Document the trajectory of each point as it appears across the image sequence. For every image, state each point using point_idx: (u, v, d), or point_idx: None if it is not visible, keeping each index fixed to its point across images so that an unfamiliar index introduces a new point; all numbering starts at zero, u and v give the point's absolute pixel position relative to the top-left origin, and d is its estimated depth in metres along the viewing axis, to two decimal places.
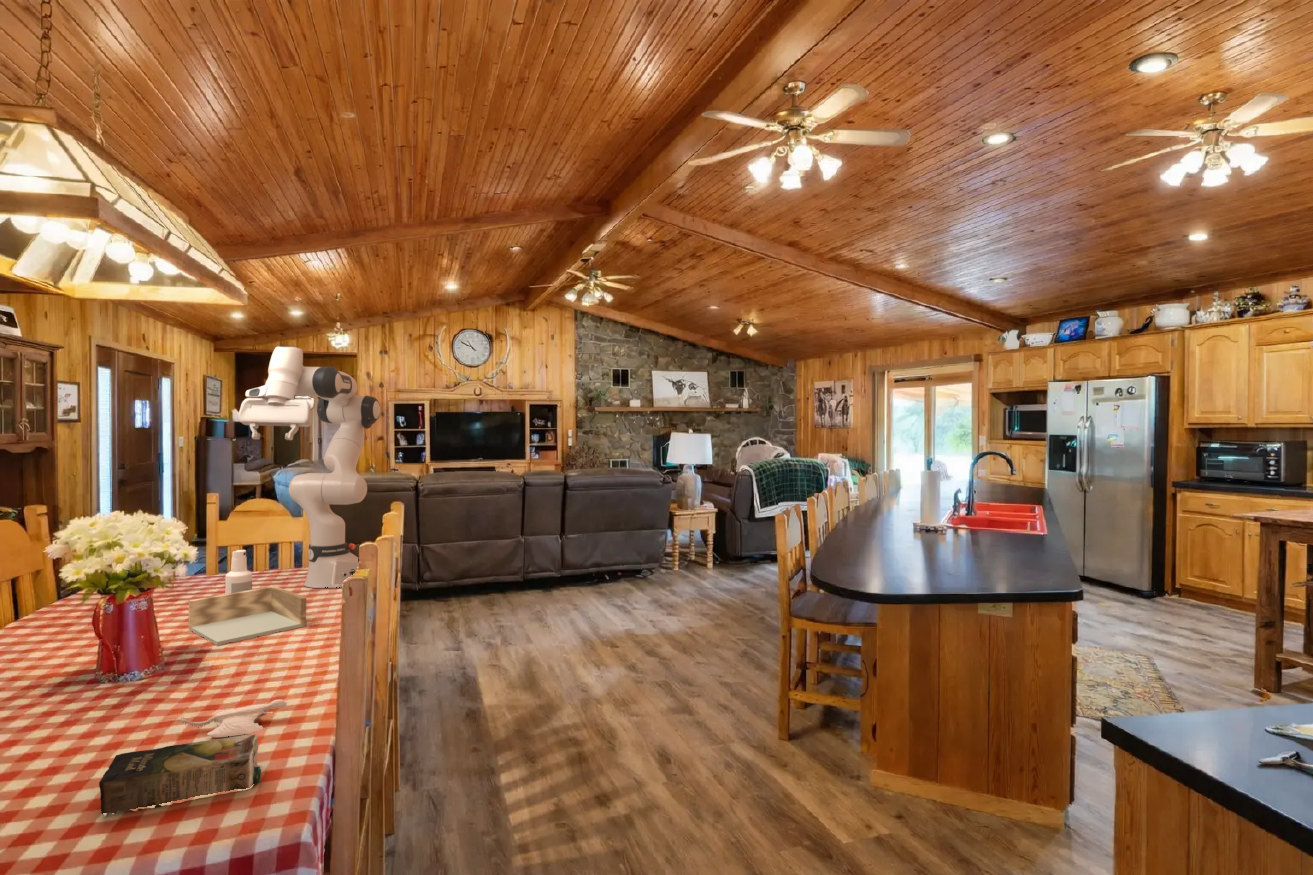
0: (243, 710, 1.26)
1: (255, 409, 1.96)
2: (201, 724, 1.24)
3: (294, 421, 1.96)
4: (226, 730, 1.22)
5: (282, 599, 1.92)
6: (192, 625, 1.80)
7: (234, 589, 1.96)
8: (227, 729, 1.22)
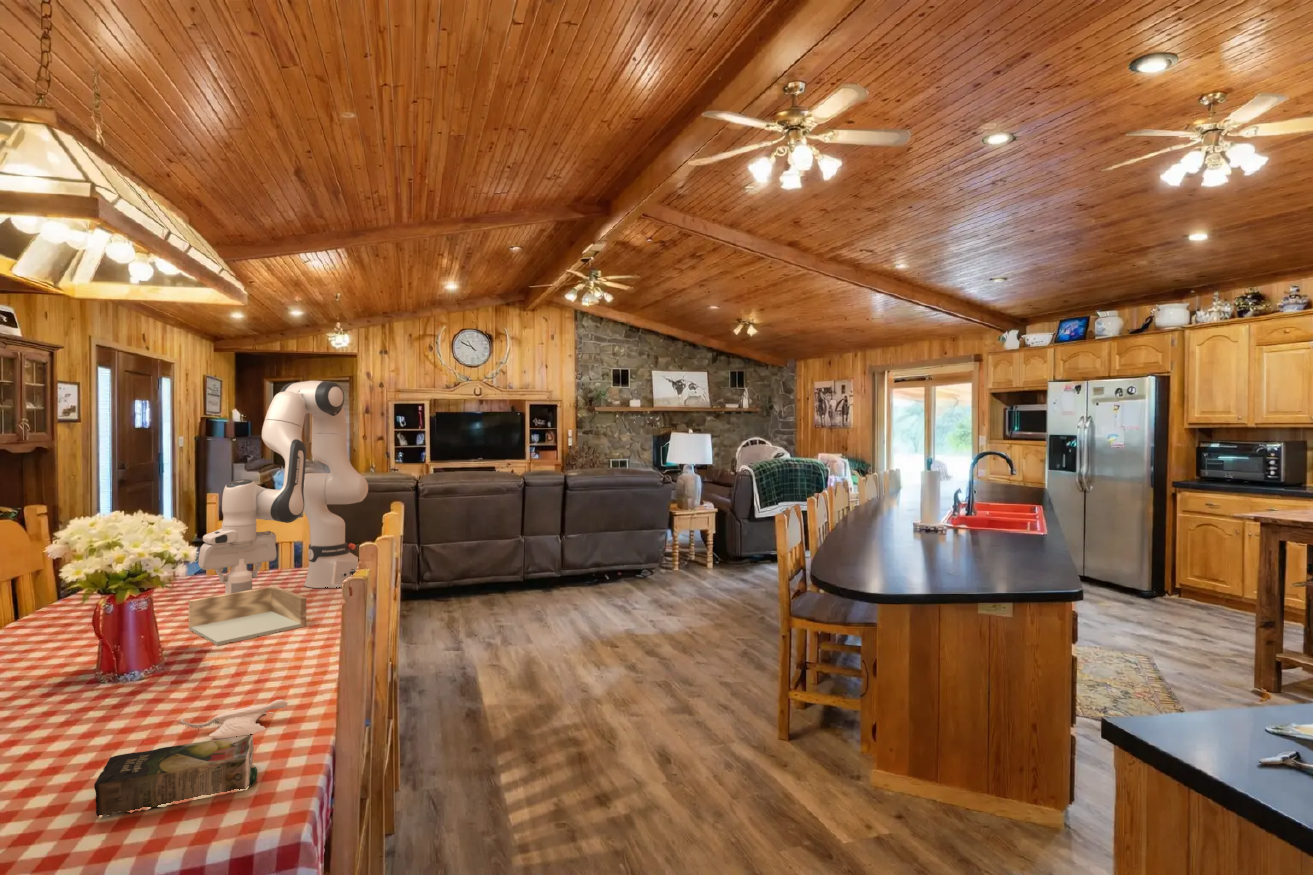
0: (244, 711, 1.26)
1: (220, 554, 1.94)
2: (201, 726, 1.23)
3: (264, 560, 2.03)
4: (228, 731, 1.22)
5: (282, 599, 1.92)
6: (192, 625, 1.80)
7: (234, 589, 1.96)
8: (229, 730, 1.22)
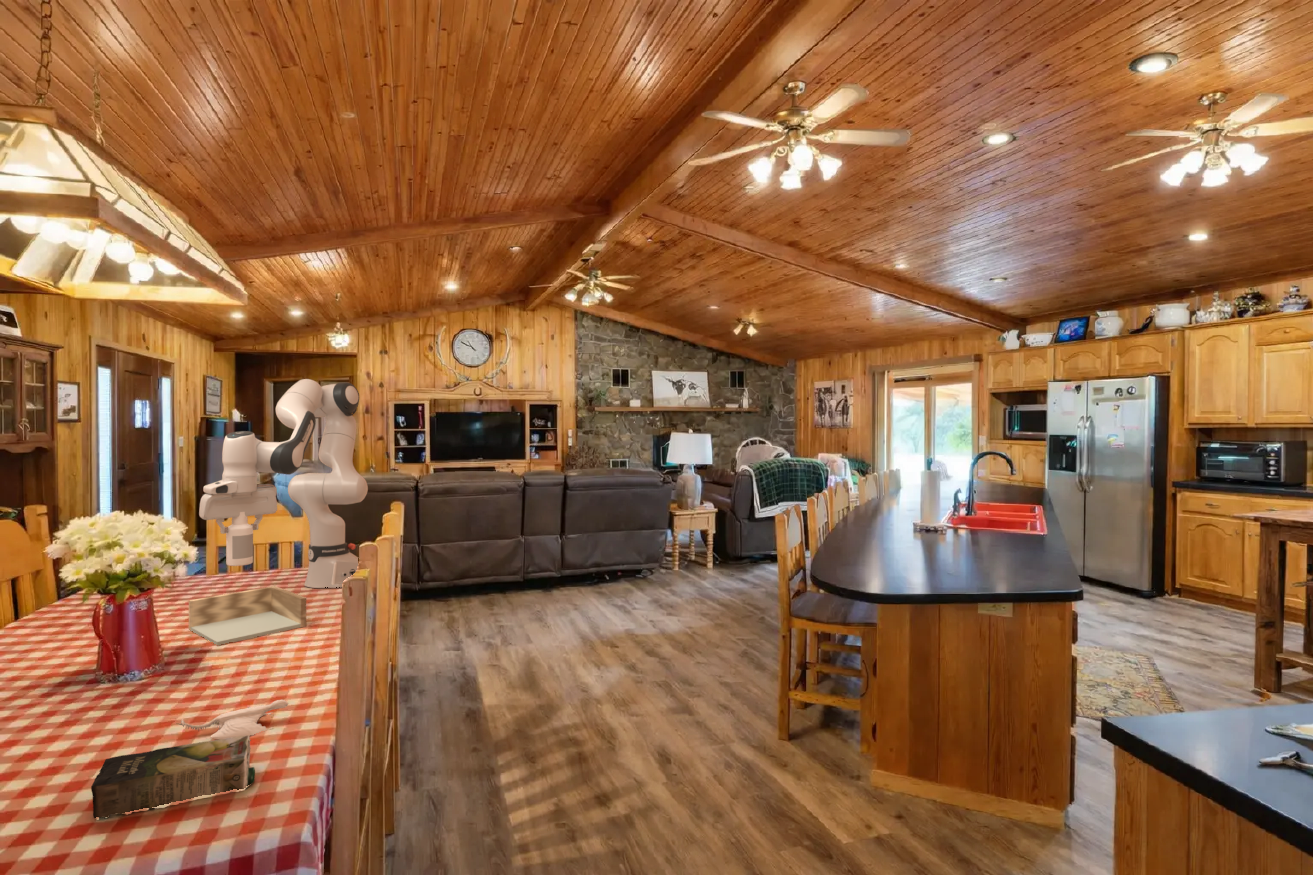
0: (245, 711, 1.25)
1: (221, 505, 1.94)
2: (202, 727, 1.22)
3: (265, 512, 2.03)
4: (229, 732, 1.21)
5: (282, 599, 1.92)
6: (192, 625, 1.80)
7: (235, 541, 1.96)
8: (231, 731, 1.21)
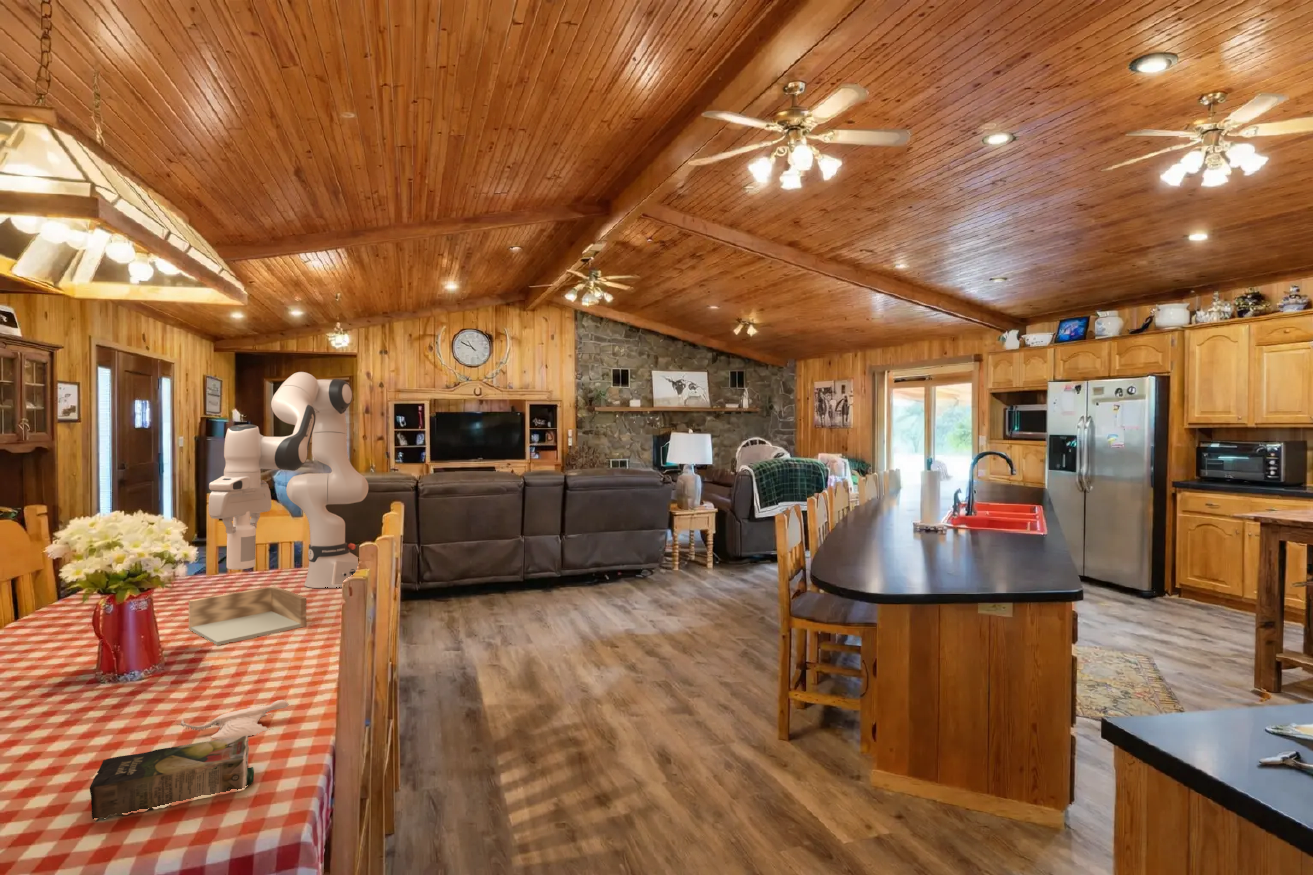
0: (245, 712, 1.25)
1: (233, 502, 1.81)
2: (202, 727, 1.22)
3: (263, 510, 1.93)
4: (230, 732, 1.21)
5: (282, 599, 1.92)
6: (192, 625, 1.80)
7: (244, 543, 1.85)
8: (232, 731, 1.21)
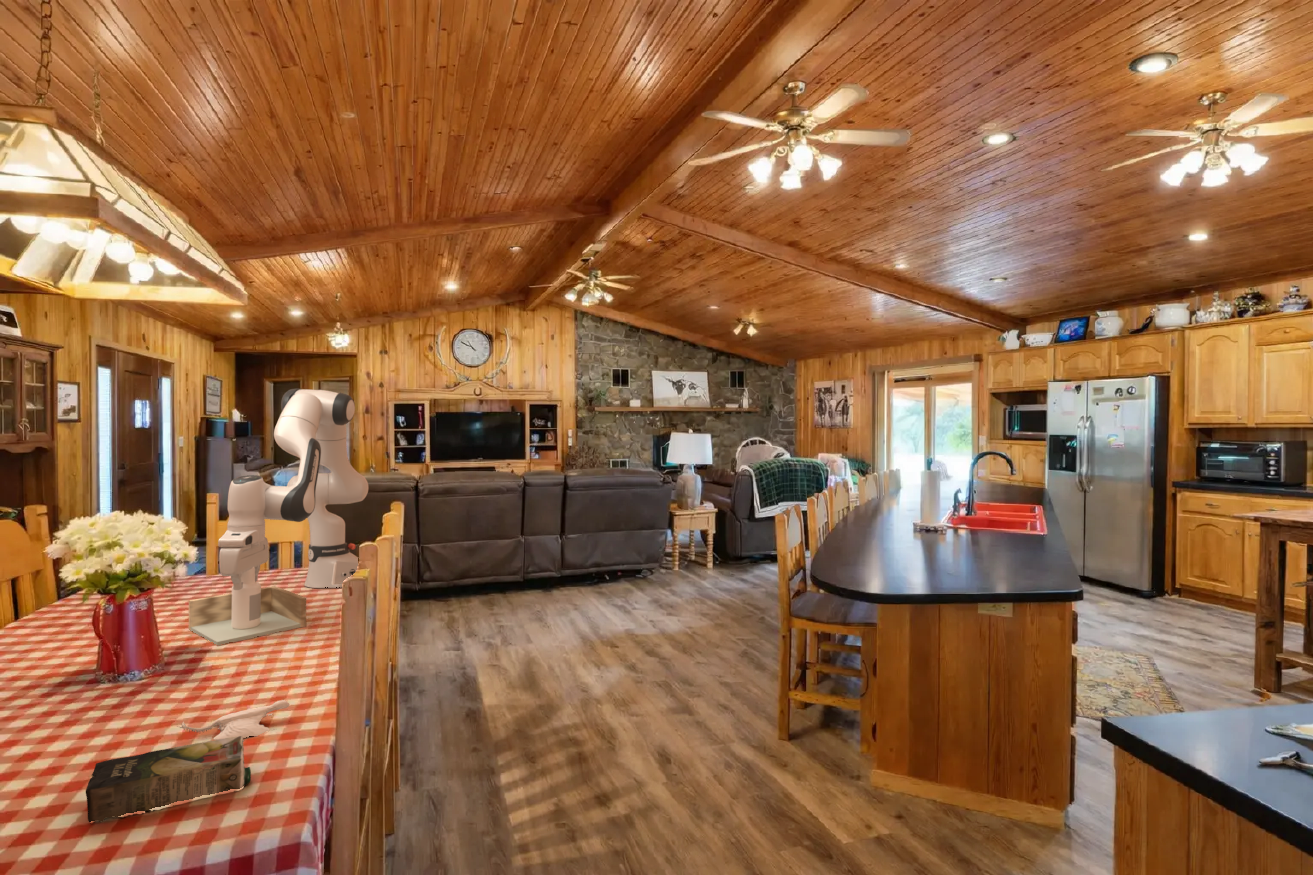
0: (246, 713, 1.25)
1: (242, 558, 1.76)
2: (203, 729, 1.21)
3: (263, 562, 1.88)
4: (233, 733, 1.21)
5: (282, 599, 1.92)
6: (192, 625, 1.80)
7: (253, 601, 1.80)
8: (234, 732, 1.21)
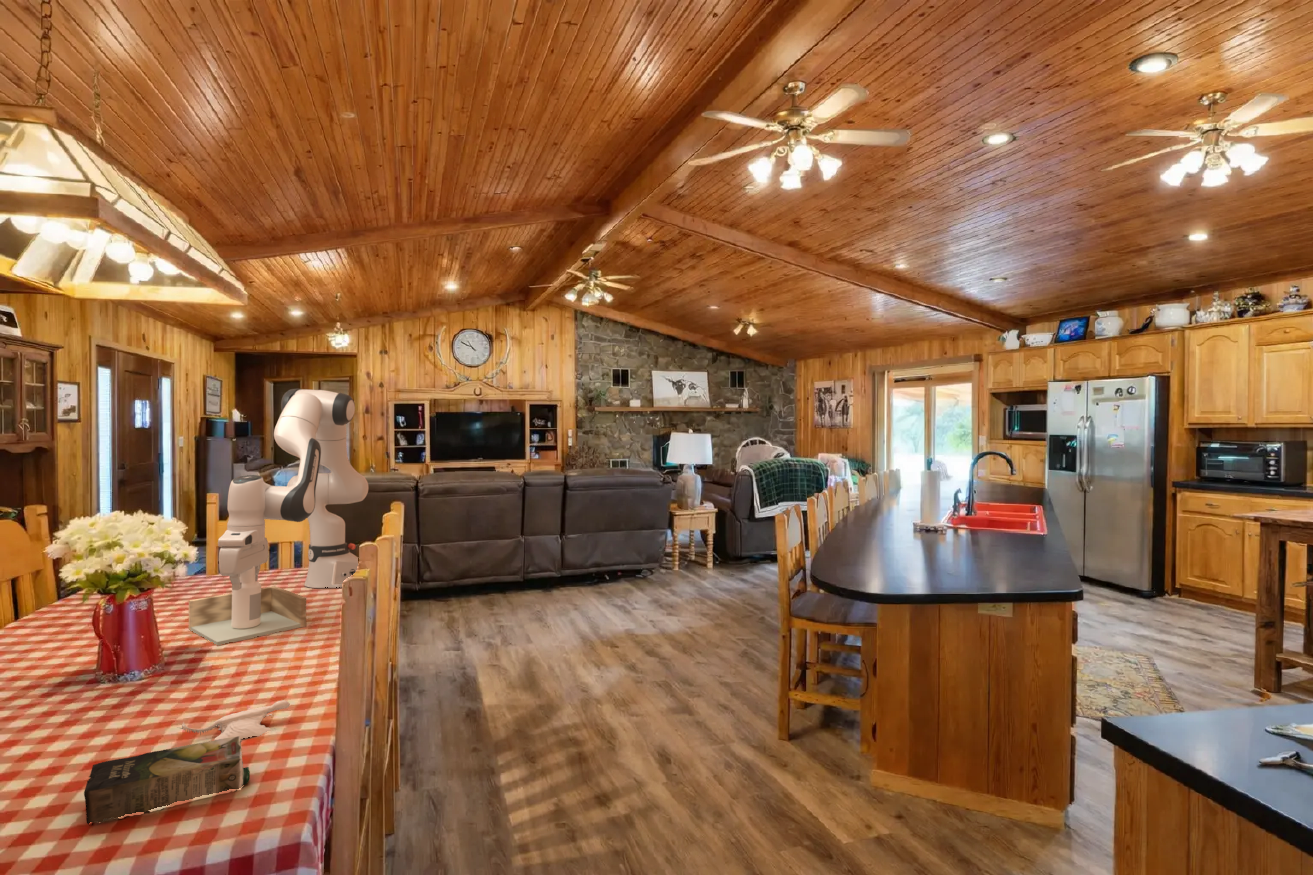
0: (247, 713, 1.25)
1: (242, 558, 1.76)
2: (204, 730, 1.21)
3: (263, 562, 1.88)
4: (234, 734, 1.21)
5: (282, 599, 1.92)
6: (192, 625, 1.80)
7: (253, 601, 1.81)
8: (235, 733, 1.21)
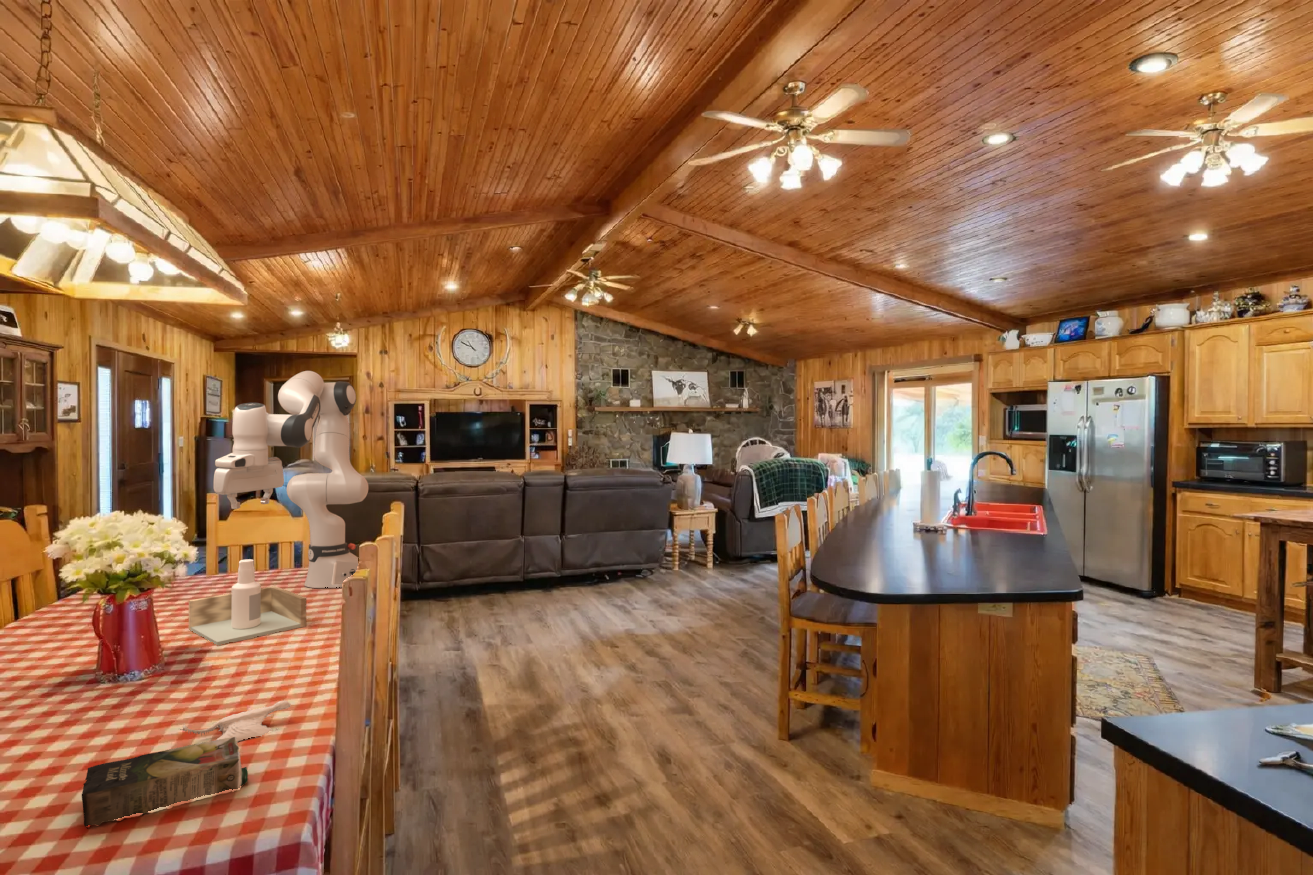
0: (248, 714, 1.24)
1: (237, 479, 1.87)
2: (205, 731, 1.21)
3: (274, 486, 1.99)
4: (236, 734, 1.20)
5: (282, 599, 1.92)
6: (192, 625, 1.80)
7: (252, 601, 1.80)
8: (237, 733, 1.21)
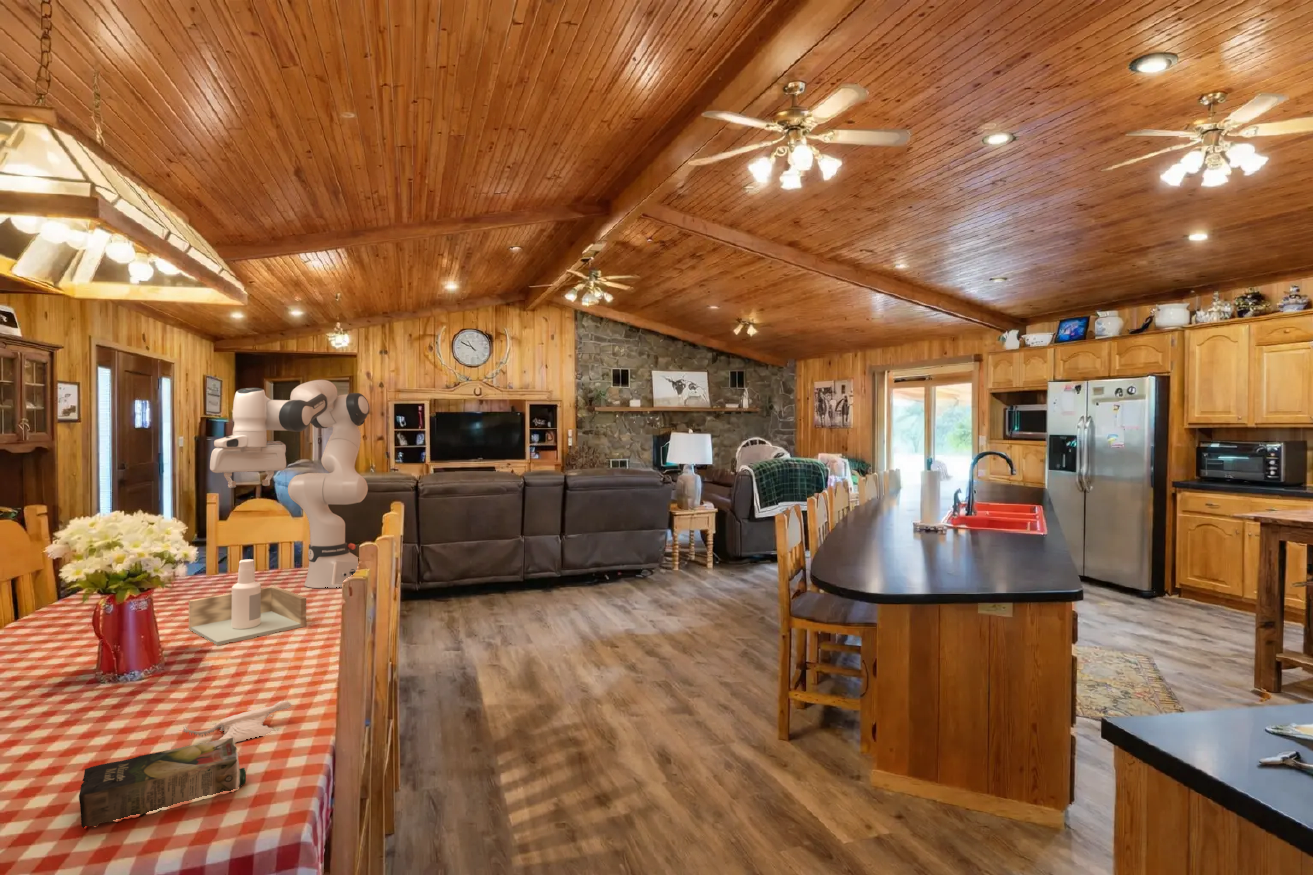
0: (249, 714, 1.24)
1: (231, 459, 1.96)
2: (205, 732, 1.20)
3: (274, 469, 2.06)
4: (237, 735, 1.20)
5: (282, 599, 1.92)
6: (192, 625, 1.80)
7: (252, 601, 1.80)
8: (239, 733, 1.20)
